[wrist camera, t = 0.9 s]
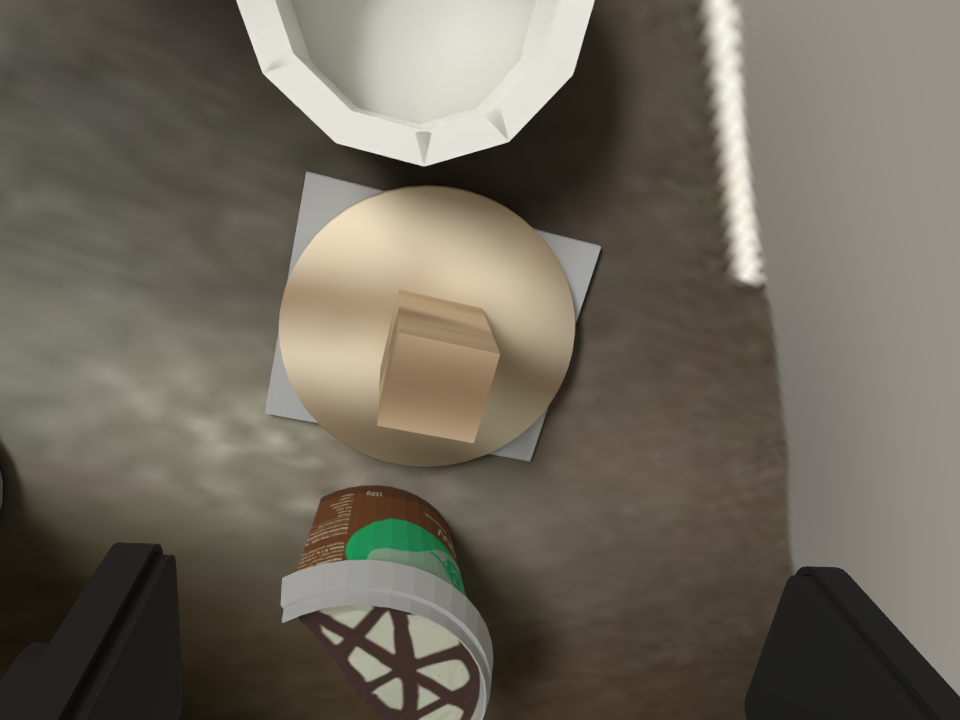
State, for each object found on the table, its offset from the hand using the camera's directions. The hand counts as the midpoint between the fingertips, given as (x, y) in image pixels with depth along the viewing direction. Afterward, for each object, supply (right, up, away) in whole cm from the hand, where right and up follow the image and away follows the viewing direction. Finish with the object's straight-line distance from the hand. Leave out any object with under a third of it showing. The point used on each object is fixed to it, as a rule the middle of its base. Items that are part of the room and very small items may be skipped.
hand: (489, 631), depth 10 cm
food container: (-4, -6, +28) cm, 28 cm away
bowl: (-3, +19, +18) cm, 26 cm away
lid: (-3, +5, +23) cm, 23 cm away
